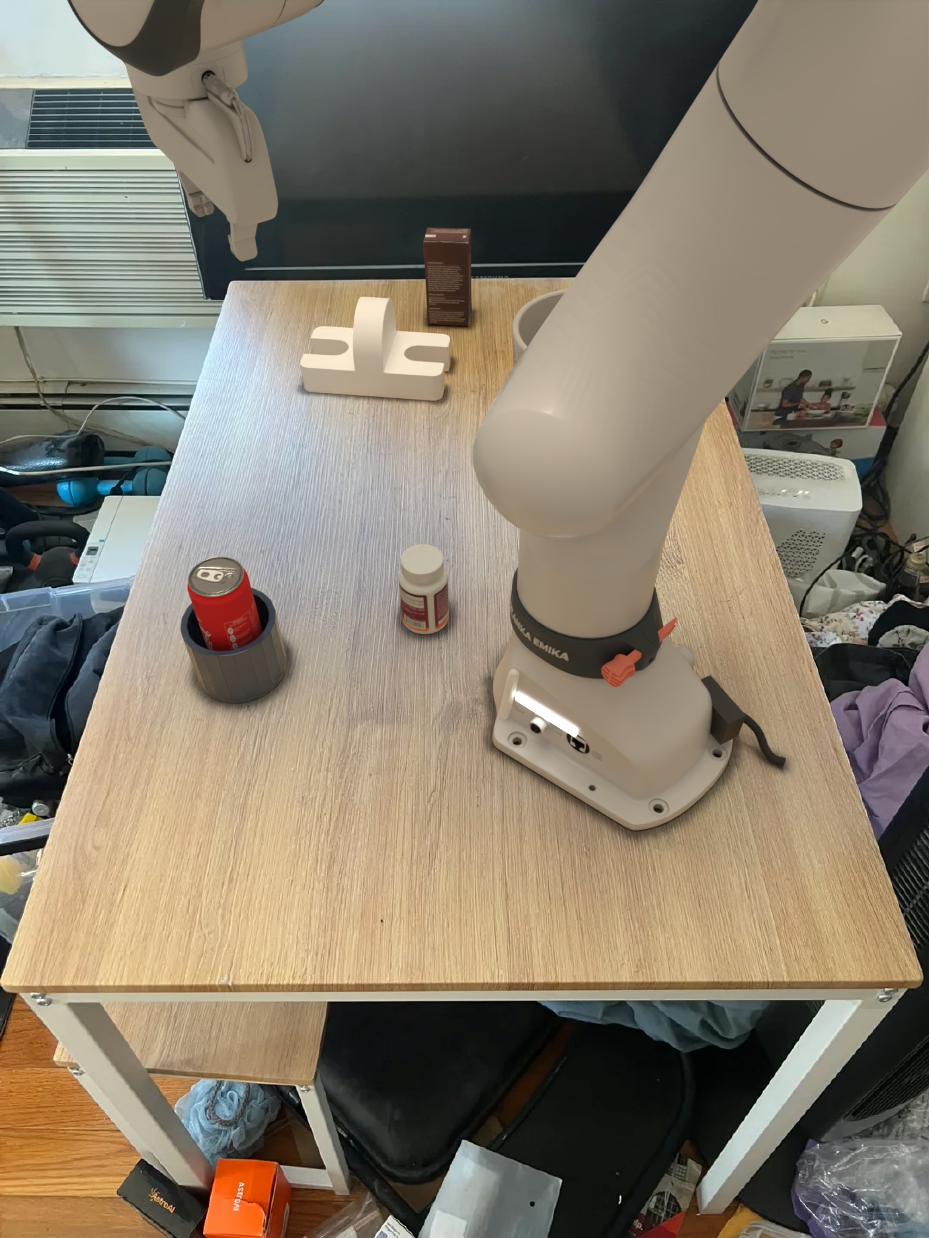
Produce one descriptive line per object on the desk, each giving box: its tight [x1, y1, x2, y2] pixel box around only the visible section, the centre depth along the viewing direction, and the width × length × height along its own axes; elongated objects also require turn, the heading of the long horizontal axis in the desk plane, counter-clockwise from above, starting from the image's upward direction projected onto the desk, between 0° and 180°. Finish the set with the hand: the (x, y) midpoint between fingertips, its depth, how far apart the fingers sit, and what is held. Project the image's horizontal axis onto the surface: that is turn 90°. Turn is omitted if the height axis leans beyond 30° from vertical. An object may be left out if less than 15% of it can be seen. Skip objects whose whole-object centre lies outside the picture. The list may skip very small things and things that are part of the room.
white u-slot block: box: [299, 296, 451, 402], centre depth 115 cm, size 10×18×10 cm, turn 83°
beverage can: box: [187, 555, 263, 651], centre depth 82 cm, size 5×5×12 cm
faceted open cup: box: [179, 587, 288, 704], centre depth 84 cm, size 8×8×7 cm
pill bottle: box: [397, 543, 450, 635], centre depth 88 cm, size 5×5×8 cm
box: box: [422, 227, 473, 327], centre depth 123 cm, size 6×4×12 cm
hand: (223, 234), depth 79 cm, fingers open, 8 cm apart
